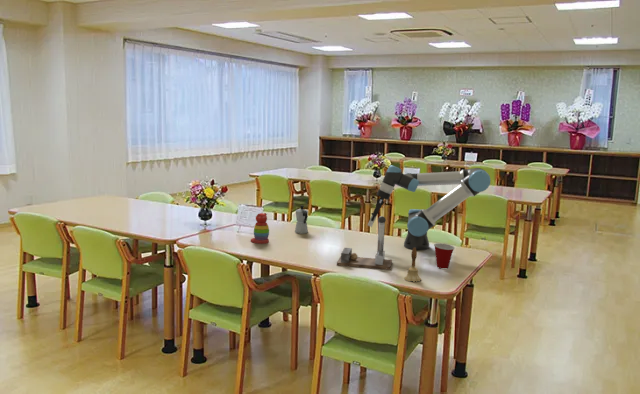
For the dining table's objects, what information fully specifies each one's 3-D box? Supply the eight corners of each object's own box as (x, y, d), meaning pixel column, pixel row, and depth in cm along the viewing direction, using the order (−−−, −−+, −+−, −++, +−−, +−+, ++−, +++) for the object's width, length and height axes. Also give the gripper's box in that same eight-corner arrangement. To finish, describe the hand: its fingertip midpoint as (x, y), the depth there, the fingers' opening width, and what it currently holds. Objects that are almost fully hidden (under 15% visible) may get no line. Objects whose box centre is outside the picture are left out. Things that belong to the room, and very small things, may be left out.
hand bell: (402, 276, 269) (404, 245, 267) (418, 277, 270) (420, 245, 268) (406, 282, 261) (408, 250, 259) (423, 282, 262) (425, 250, 259)
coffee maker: (291, 230, 364) (292, 204, 361) (304, 229, 367) (304, 203, 364) (299, 235, 350) (300, 208, 347) (312, 234, 354) (313, 207, 351)
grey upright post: (384, 259, 293) (386, 214, 289) (382, 265, 282) (384, 218, 278) (377, 258, 294) (379, 214, 290) (375, 264, 283) (377, 218, 279)
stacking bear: (265, 239, 338) (265, 211, 335) (272, 242, 330) (273, 213, 327) (249, 241, 332) (249, 212, 330) (256, 244, 324) (257, 215, 321)
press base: (391, 262, 294) (392, 250, 293) (390, 269, 281) (390, 257, 280) (340, 258, 300) (341, 246, 298) (336, 265, 286) (337, 253, 285)
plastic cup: (453, 271, 282) (455, 248, 280) (432, 269, 284) (434, 247, 282) (453, 265, 292) (454, 243, 290) (432, 263, 294) (433, 242, 292)
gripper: (379, 187, 326) (365, 219, 329) (378, 189, 302) (362, 224, 304) (391, 192, 325) (377, 224, 328) (390, 195, 301) (375, 230, 303)
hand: (370, 224), depth 316 cm, fingers open, 13 cm apart
